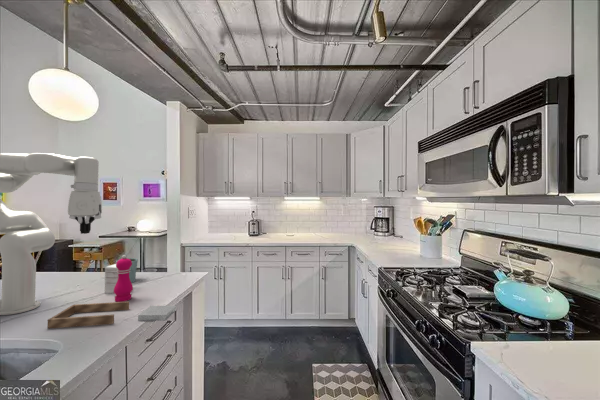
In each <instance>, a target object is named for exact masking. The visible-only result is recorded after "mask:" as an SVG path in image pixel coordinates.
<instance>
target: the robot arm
mask: <svg viewBox="0 0 600 400" xmlns="http://www.w3.org/2000/svg"><path fill="white" fill-rule="evenodd" d="M99 165H100V164H99V160H98V159H97V158H94V157H92V156H91V157H90V156H78V157H73V156H67V155H62V154H57V153H56V154H55V153H48V152H47V153H46V152H44V153H43V152H42V153H41V152H31V153H14V152H13V153H12V152H11V153H10V152H1V153H0V194H1V193H3V194H4V193H6V194H7V193H13V192H15V191H17V190H18V189H20V188H21V187H22V186H24V184H26V183H27V182H28V181H29V180H30V179H31V178H33V176H38V175H40V174H54V175H64V176H72V177H74V180H73V181H74V182H73V184H71V185H70V188H71V189H73V190H71V192H70V195H69V198H68V205H67V215H69V219H72V220H75V221H77V222H78V224H79V231H80V235H82V234H83V235H85V234H90V233H91V228H92V227H91V226H92V224H93V222H94V221H96V220H98V219H102V213H103V212H102V210H103V209H102V208H103V206H102V205H103V204H102V202H103V201H102V197H101V193H100V191H99V168H100V167H99ZM54 234H55V233H54V232H53V231H52V230H51V229H50V228H49V226H48V225H47V224H46V223H45V221H44V220H43V219H42V218H41V217H40V216H39V215H38V213H35V212H33V211H31V210H24V209H23V210H22V209H21V210H14V209H11V208H10V207H9V206H8V205H7V204H6V203H5V201H3V200H2V199H1V198H0V235H3V236H1V237H0V257H1V289H0V290H1V293H0V294H1V295H0V296H1V297H0V316H10V315H15V314H16V315H17V314H21V313H25V312H28V311H29V312H30V311H32V310H34V309H36V308H39V307H40V305H41V301H39V300H36V288H37V287H36V286H37V285H36V284H37V282H36V280H37V278H36V277H37V263H36V260H35V258H34V256H33V255H32V253H36V252H42V251H46V250H49V249H51V248H52V247H54V244H55V243H56V237H55V235H54Z"/></svg>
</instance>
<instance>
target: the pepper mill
mask: <svg viewBox="0 0 600 400" xmlns="http://www.w3.org/2000/svg"><path fill="white" fill-rule="evenodd" d="M128 258H129V257H128ZM128 258H127V255H126V254H123V255H121V258H120V260H119V259H117V260H118V261H117V263H116V262H115V264H116V267H117V268H118V270H117V273H118V281H117V283H116V285H115V287H114V293H113V294H114V295H115V296H114V302H129V301H130V300H131V299H132V298H133V297H132V292H133V291H134V290H133V289H134V286H133V282H132V283H131V281H130V278H129V272H130V267H131V266H132V261H131V260H130V259H128Z"/></svg>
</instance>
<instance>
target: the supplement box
mask: <svg viewBox="0 0 600 400" xmlns="http://www.w3.org/2000/svg"><path fill="white" fill-rule="evenodd" d="M117 270H118V268H117V267H116V263H114V264H111V265H107V266H105V267H104V294H114V287H115V285H116V283H117V281H118V273H117Z"/></svg>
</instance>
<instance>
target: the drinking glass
mask: <svg viewBox="0 0 600 400" xmlns="http://www.w3.org/2000/svg"><path fill="white" fill-rule="evenodd" d="M120 259H121V258H120ZM120 259H117V260H116V261H115V264H116V263H117V261H118V260H120ZM128 259H130V260H131V261H132V266H131V267H130V272H129V278H130V281H131V283H132V284H133V283H134V282H136V278H137V277H136V276H137V275H136V274H137V268H138V261H139V260H138V258H135V257H134V258H133V257H128Z"/></svg>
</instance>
